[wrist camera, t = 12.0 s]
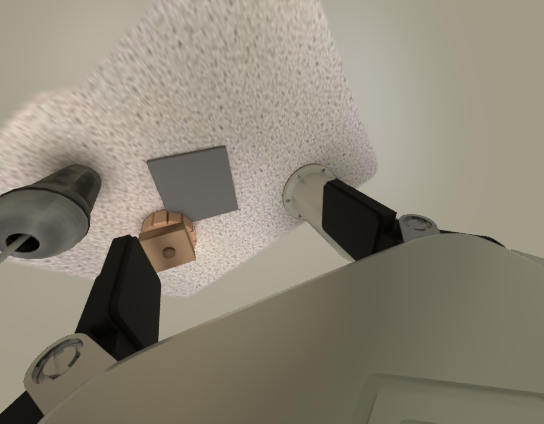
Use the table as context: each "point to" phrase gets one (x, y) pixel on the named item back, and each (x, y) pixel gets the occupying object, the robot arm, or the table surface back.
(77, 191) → the beverage cup
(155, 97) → the table surface
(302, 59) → the table surface
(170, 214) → the bowl
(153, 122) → the table surface
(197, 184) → the mat
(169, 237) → the lid
